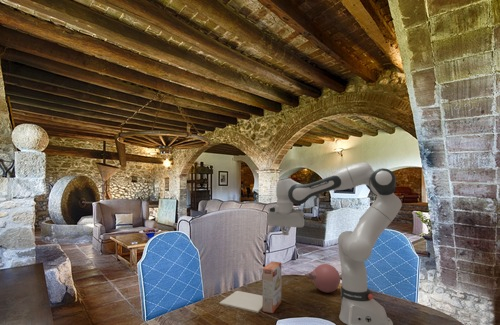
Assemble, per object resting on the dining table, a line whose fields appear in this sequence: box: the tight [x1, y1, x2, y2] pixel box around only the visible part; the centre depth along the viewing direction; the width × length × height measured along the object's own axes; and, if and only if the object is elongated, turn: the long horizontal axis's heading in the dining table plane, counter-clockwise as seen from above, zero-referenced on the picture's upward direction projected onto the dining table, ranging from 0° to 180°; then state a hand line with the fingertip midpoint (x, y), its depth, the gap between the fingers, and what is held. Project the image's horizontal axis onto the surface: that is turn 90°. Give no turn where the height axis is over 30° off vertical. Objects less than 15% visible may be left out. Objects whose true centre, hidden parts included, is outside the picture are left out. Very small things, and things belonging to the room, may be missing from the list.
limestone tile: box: [219, 290, 263, 314], centre depth 148 cm, size 22×18×1 cm
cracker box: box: [261, 261, 282, 314], centre depth 142 cm, size 14×6×21 cm, turn 157°
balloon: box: [304, 263, 341, 293], centre depth 162 cm, size 15×20×15 cm
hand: (285, 235), depth 148 cm, fingers closed
